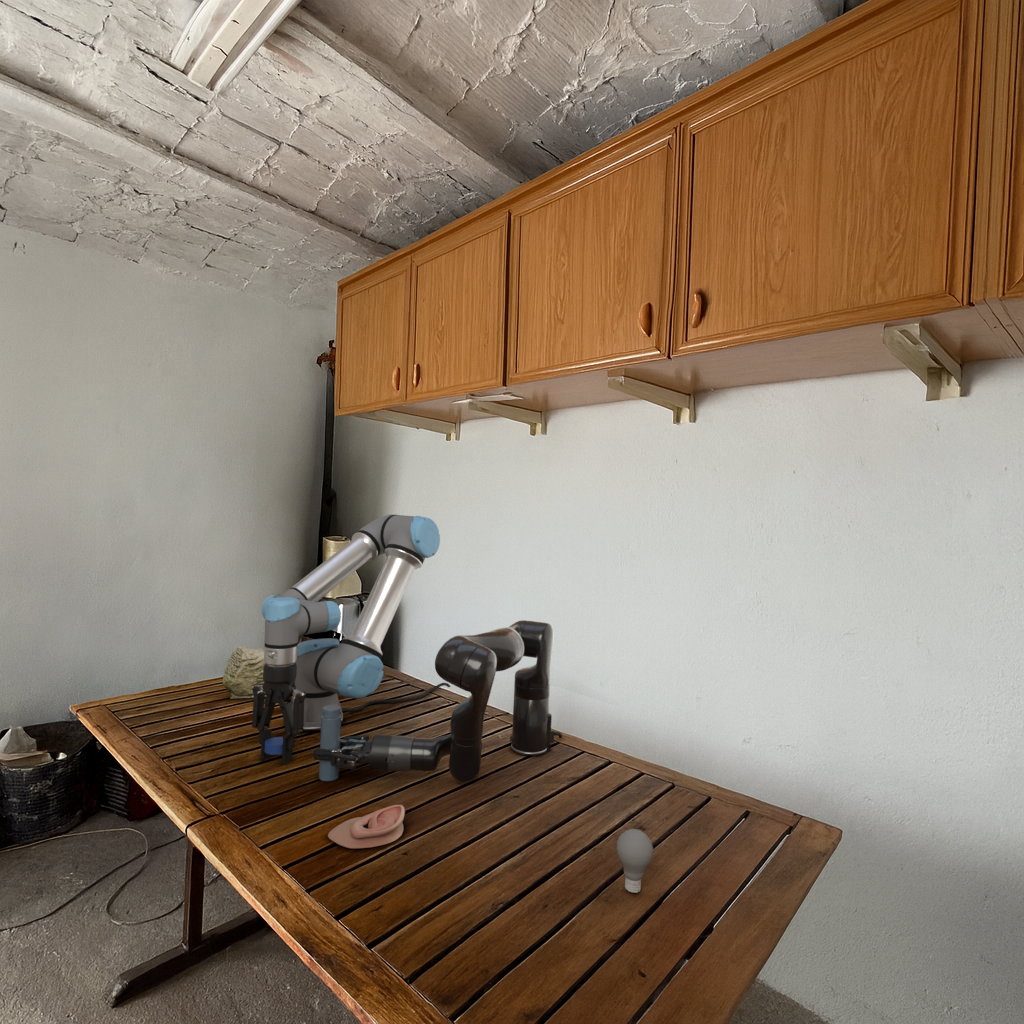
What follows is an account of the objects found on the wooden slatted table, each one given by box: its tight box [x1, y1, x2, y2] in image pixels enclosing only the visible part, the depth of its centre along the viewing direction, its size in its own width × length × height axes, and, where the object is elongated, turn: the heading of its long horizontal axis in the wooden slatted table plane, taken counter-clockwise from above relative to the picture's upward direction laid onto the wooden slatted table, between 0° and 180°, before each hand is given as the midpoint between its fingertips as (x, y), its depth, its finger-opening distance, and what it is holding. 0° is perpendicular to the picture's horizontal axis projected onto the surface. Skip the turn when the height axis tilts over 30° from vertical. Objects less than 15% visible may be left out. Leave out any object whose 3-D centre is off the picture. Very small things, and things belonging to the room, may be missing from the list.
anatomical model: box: [327, 804, 406, 849], centre depth 120 cm, size 13×4×12 cm
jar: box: [318, 705, 342, 782], centre depth 143 cm, size 4×4×16 cm
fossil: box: [222, 646, 266, 699], centre depth 198 cm, size 9×18×15 cm, turn 132°
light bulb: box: [615, 828, 654, 894], centre depth 106 cm, size 6×6×10 cm
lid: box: [264, 736, 283, 756], centre depth 151 cm, size 5×5×2 cm
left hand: (276, 759), depth 151 cm, fingers closed on lid, 5 cm apart
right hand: (318, 749), depth 143 cm, fingers closed on jar, 4 cm apart
